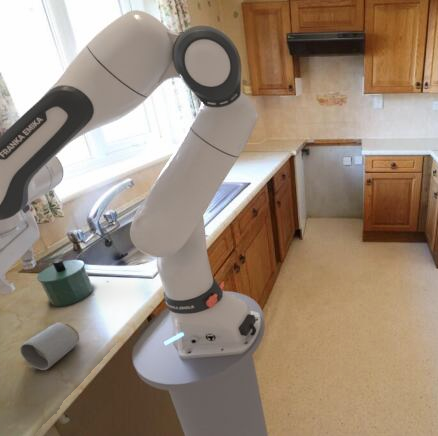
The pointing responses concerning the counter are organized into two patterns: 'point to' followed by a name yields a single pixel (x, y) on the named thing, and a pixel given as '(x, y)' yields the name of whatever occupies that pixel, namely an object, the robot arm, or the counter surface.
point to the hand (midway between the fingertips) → (20, 279)
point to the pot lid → (60, 270)
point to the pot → (69, 289)
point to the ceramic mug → (49, 345)
